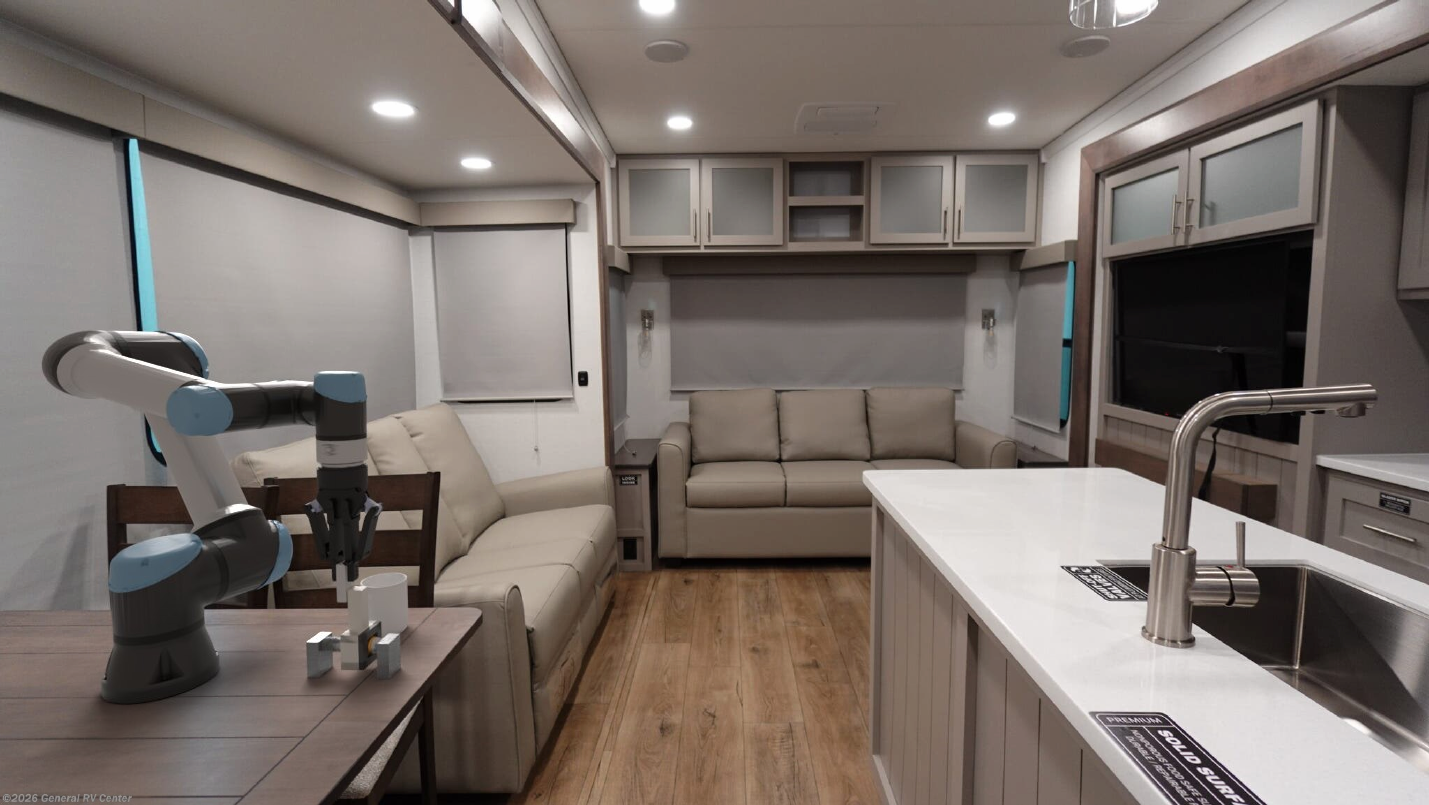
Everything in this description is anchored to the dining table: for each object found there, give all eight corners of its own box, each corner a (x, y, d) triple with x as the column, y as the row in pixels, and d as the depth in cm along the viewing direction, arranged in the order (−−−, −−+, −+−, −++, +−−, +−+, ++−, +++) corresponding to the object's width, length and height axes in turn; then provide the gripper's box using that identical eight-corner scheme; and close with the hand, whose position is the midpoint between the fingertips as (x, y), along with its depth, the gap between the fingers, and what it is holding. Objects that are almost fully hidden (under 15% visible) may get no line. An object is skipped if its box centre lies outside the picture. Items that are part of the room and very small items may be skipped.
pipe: (307, 677, 112) (306, 641, 111) (321, 666, 115) (320, 631, 115) (389, 679, 111) (388, 643, 111) (400, 667, 115) (399, 633, 115)
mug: (367, 651, 121) (365, 597, 121) (334, 643, 124) (332, 590, 124) (417, 625, 133) (416, 576, 132) (386, 618, 136) (385, 570, 135)
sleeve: (341, 669, 110) (338, 594, 109) (360, 653, 116) (358, 581, 115) (363, 670, 110) (361, 595, 109) (382, 653, 116) (380, 582, 115)
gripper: (289, 466, 107) (293, 606, 109) (369, 468, 106) (372, 609, 109) (317, 458, 114) (321, 590, 116) (392, 460, 114) (394, 592, 116)
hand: (345, 599), depth 112 cm, fingers closed
